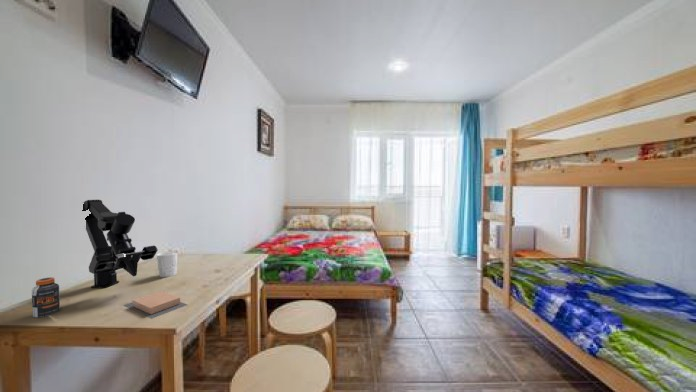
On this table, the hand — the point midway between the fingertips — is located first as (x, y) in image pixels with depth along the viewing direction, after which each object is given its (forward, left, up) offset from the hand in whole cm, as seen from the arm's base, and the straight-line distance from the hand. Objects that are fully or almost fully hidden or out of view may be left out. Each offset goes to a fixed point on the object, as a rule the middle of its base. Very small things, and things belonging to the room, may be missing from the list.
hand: (135, 275), depth 100 cm
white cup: (-5, +26, -9) cm, 27 cm away
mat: (+12, -7, -8) cm, 16 cm away
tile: (+7, -4, -7) cm, 11 cm away
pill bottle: (-20, -11, -9) cm, 24 cm away
